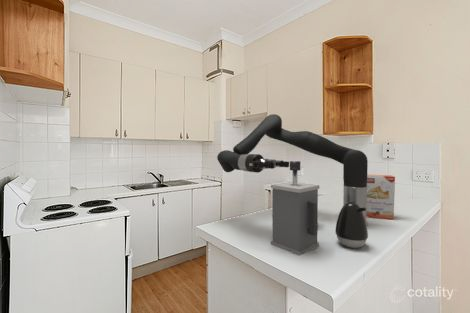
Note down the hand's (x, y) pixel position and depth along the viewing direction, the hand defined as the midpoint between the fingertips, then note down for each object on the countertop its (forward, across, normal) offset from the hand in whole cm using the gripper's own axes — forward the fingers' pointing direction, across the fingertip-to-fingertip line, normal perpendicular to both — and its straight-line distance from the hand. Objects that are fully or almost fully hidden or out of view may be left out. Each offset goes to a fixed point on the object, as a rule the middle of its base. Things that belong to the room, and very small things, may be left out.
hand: (281, 165), depth 85 cm
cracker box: (+12, +59, +28) cm, 67 cm away
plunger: (+6, 0, +26) cm, 27 cm away
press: (+7, 0, +28) cm, 29 cm away
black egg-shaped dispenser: (+19, +15, +28) cm, 37 cm away
